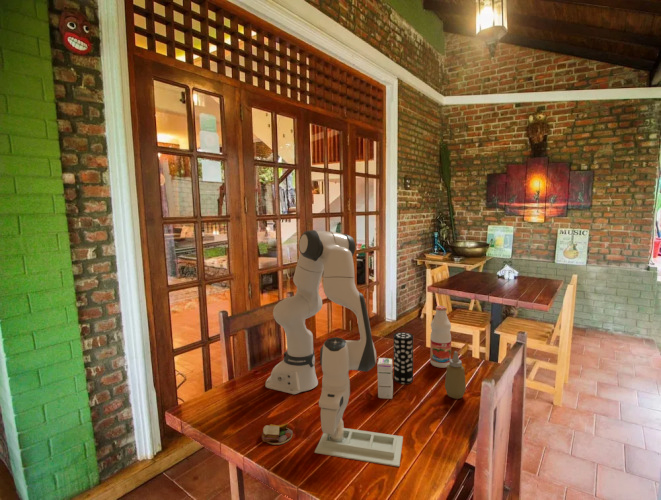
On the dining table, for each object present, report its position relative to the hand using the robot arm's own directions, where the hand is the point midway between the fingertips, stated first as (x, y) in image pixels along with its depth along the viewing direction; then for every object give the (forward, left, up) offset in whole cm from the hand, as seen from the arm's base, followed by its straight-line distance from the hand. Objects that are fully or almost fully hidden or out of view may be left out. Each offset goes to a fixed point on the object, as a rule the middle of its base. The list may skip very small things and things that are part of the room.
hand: (336, 430), depth 118 cm
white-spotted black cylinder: (+18, +48, -4) cm, 51 cm away
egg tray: (+8, 0, -4) cm, 9 cm away
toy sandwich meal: (-20, -2, -5) cm, 21 cm away
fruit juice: (+34, +68, -4) cm, 76 cm away
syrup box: (+12, +33, -4) cm, 35 cm away
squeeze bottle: (+39, +39, -4) cm, 55 cm away
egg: (0, 0, -3) cm, 3 cm away
